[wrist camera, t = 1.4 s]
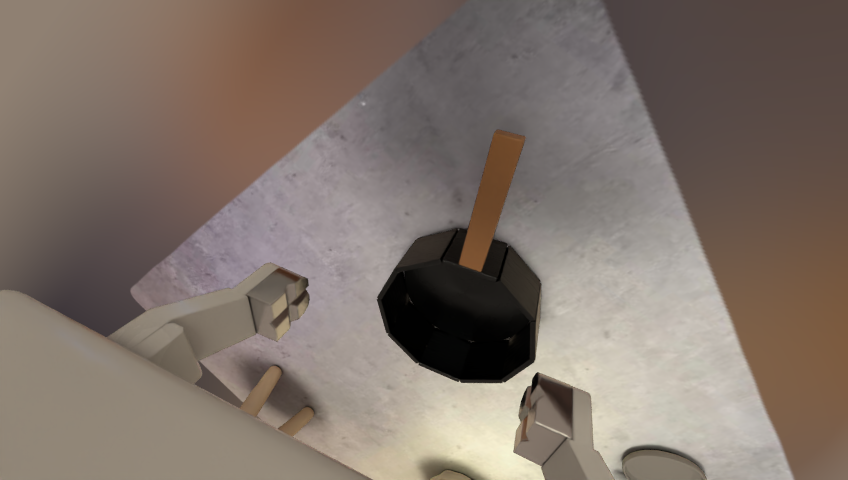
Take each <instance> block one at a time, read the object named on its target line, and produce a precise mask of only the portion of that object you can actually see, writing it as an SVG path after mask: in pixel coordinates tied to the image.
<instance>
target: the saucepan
mask: <svg viewBox="0 0 848 480" xmlns="http://www.w3.org/2000/svg"><path fill="white" fill-rule="evenodd" d="M525 139H526V137H525V136H521V135H517V134H514V133H510V132H506V131H502V130H496V131H495V133H494V135H493V138H492V142H491V146H490V149H489V153H488V157H487V161H486V164H485V168H484V172H483V175H482V179H481V183H480V186H479V190H478V194H477V198H476V201H475V205H474V209H473V212H472V216H471V220H470V223H469V227H468V231H467V230H464V229H461V228H460V230H459V231H458V228H456V229H452V230H448V231H445V232H441V233H437V234H433V235H429V236H425V237H421V238H418V239H417V240H415V242H414V243H413V244H412V246H411V247H410V248H409V250H408V251H407V253H406V254H405V255H404V257H403V258H402V259H401V261H400V262H399V263H398V265H397V266H396V268H395V269H394V270H393V272H392V274H391V275H390V277H389V279H388V280H387V282H386V284H385V285H384V287H383V289H382V290H381V292H380V294H379V295H378V297H377V298H378V299H377V302H378V305H379V309H380V312H381V316H382V319H383V323H384V326H385V330H386V333H389V334H388V336H389V337H390V338H391V339H392V340H393V341H394V342H395V343H396V344H397V345H398V346H399V347H400V348H401V349H402V350H403V351H404V352H405V353H406V354H407V355H408V356H409V357H410V358H411V359H412V360H413V361H414V362H415V363H419V365H420V366H422V367H425V368H427V369H429V370H431V371H434V372H436V373H438V374H441V375H443V376H445V377H448V378H450V379H452V380H455V381H457V382H459V380H460V382H461V383H502V382H506V381H508V380H509V379H510V378H512V377H513V376H515V375H516V374H518V373H519V372H521V371H522V370H524V369H525V368H526V367H528V366H529V365H531V364H532V363H534V360H535V358H536V350H537V341H538V332H539V324H540V304H541V283H540V280H539V279H538V278H537V277H536V275H535V274H534V273H533V272H532V271H531V270H530V268H529V267H528V266H527V265H526V264H525V262H524V261H523V260H522V259H521V258H520V257H519V255H518V254H517V253H516V252H515V251H514V250H513V248H512V247H511V246H508V247H507V244H506V243H503V242H500V241H497V240H494V239H493V236H494V233H495V230H496V227H497V224H498V221H499V218H500V215H501V212H502V209H503V206H504V203H505V200H506V197H507V193H508V190H509V187H510V184H511V181H512V178H513V175H514V172H515V169H516V166H517V163H518V160H519V157H520V154H521V151H522V148H523V145H524V142H525ZM403 271H405V278H404V273H403ZM408 295H409V296H408ZM409 297H410V299H411V301H412V303H413V304H414V305H413V304H412V303H411V302H410V300H409ZM529 321H530V323H529ZM528 323H529V324H528ZM432 324H433V325H434V326H436V327H437V328H436V327H434V326H433V325H432ZM527 324H528V325H527ZM438 328H439V329H438ZM512 336H513V337H512ZM509 337H512V338H511V339H509V340H503V339H507V338H509ZM468 340H469V341H468ZM471 341H475V342H471Z"/></svg>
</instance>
